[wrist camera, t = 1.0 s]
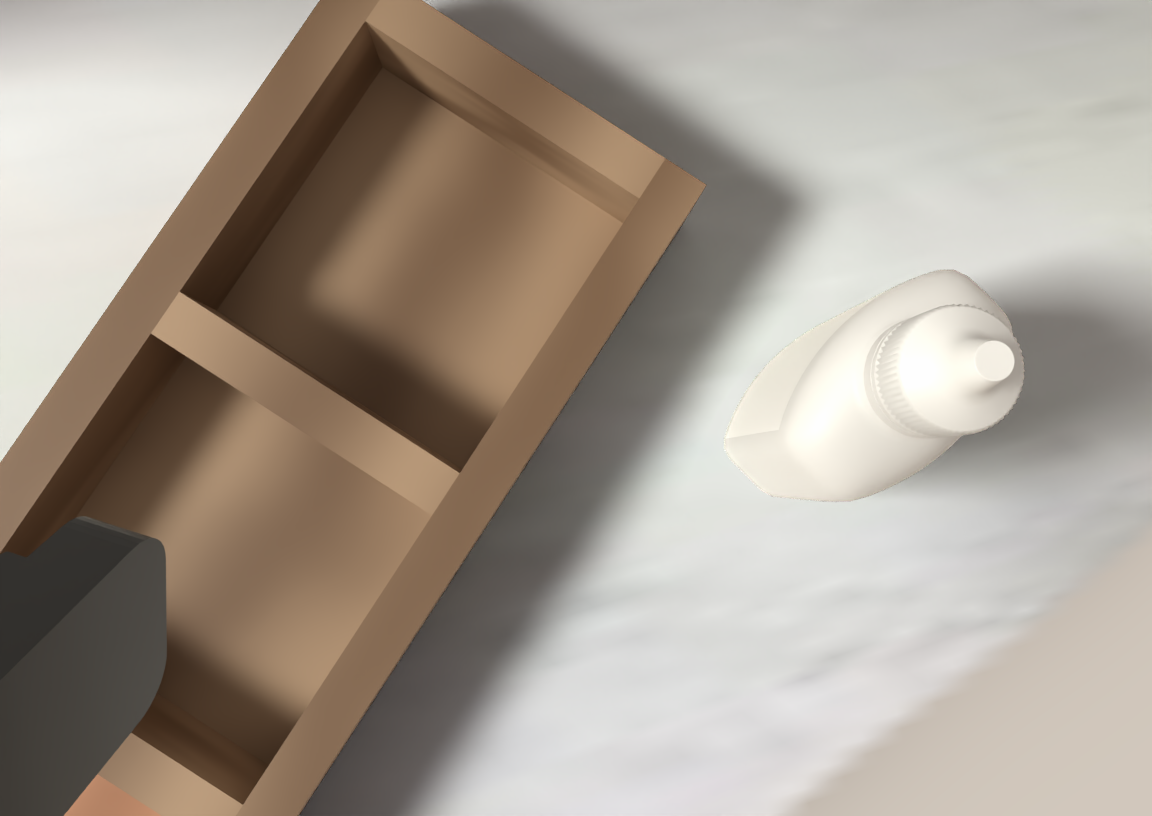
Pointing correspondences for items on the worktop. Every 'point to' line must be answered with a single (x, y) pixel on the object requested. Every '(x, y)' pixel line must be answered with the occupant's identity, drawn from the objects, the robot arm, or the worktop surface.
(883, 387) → the eye dropper bottle
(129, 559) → the robot arm
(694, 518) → the worktop surface
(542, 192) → the walnut rack
